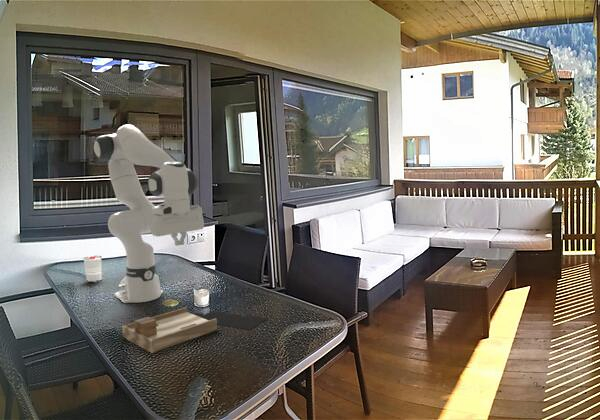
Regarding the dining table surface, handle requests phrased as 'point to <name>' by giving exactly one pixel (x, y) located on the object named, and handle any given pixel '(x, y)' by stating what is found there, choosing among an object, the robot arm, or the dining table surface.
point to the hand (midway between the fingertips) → (179, 244)
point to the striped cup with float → (93, 268)
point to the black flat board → (233, 320)
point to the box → (170, 330)
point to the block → (146, 326)
